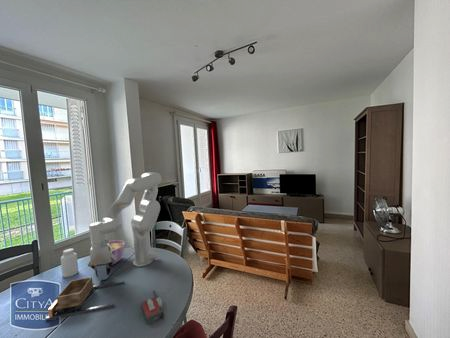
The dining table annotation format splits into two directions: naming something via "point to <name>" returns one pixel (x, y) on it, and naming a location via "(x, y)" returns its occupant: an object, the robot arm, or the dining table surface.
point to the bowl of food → (117, 249)
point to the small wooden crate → (74, 294)
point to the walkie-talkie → (152, 309)
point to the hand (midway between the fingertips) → (103, 274)
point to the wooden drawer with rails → (53, 310)
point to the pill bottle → (69, 263)
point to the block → (102, 272)
